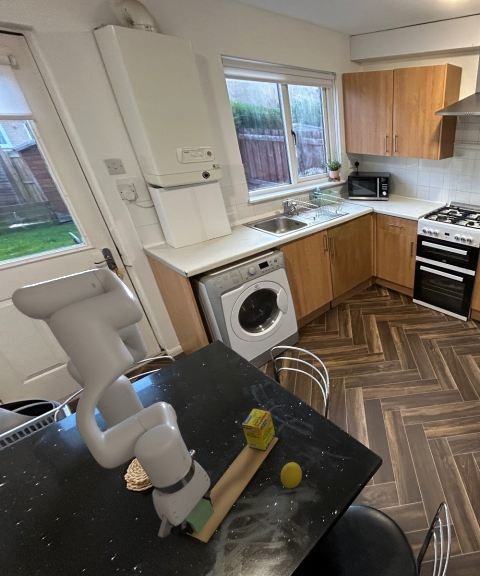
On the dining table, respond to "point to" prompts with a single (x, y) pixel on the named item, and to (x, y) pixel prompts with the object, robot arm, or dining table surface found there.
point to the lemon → (291, 475)
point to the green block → (200, 515)
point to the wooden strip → (232, 486)
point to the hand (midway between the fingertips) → (197, 517)
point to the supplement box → (259, 429)
